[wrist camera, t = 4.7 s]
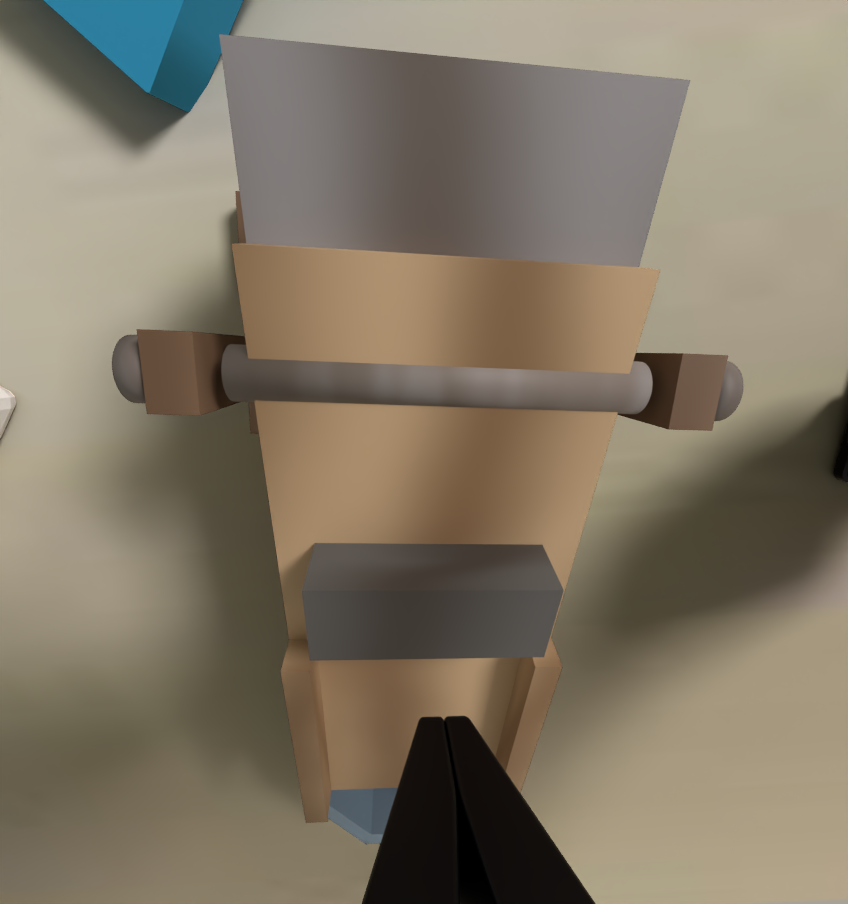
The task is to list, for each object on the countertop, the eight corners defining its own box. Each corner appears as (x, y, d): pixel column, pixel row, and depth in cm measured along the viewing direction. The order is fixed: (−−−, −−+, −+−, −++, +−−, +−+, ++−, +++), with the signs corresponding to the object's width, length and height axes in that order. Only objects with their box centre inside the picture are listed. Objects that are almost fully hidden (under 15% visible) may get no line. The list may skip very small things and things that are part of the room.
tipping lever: (595, 141, 12) (850, 18, 5) (491, 656, 22) (530, 832, 15) (272, 114, 11) (84, -70, 4) (322, 658, 21) (288, 844, 15)
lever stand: (593, 224, 17) (848, 62, 7) (566, 437, 19) (736, 524, 10) (245, 200, 16) (19, -24, 6) (258, 428, 18) (104, 517, 8)
